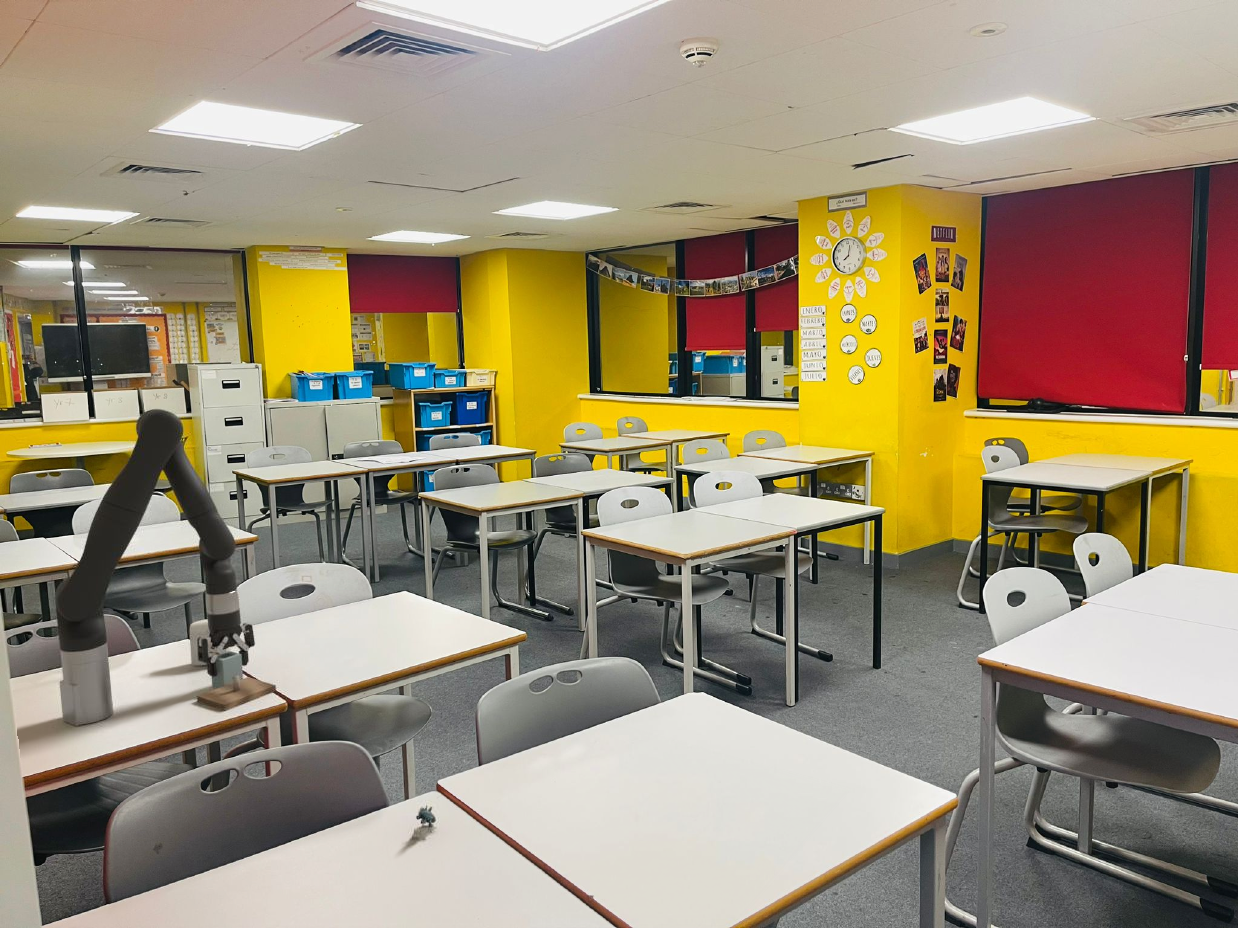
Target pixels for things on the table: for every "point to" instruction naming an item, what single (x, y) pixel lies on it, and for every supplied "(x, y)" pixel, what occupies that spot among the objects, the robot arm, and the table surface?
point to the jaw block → (227, 669)
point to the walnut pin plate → (236, 693)
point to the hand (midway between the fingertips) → (228, 670)
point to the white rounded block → (197, 631)
